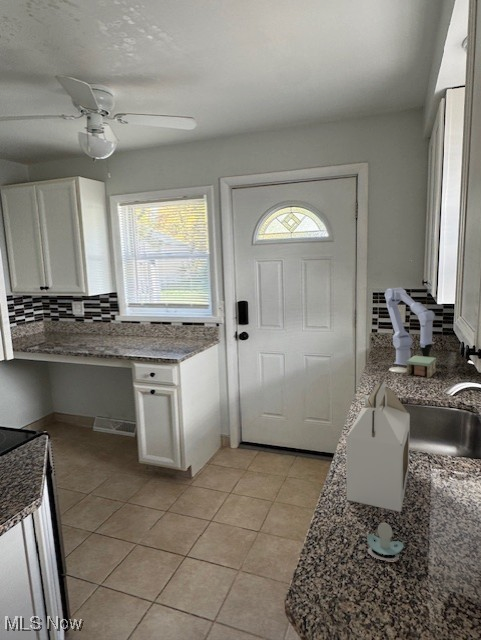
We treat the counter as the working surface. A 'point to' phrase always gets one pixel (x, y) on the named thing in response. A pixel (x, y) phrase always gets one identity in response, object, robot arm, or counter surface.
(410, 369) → the cubby
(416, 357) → the lid
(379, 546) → the pacifier
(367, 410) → the gable box
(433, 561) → the counter surface
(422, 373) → the block
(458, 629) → the counter surface
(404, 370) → the plate
